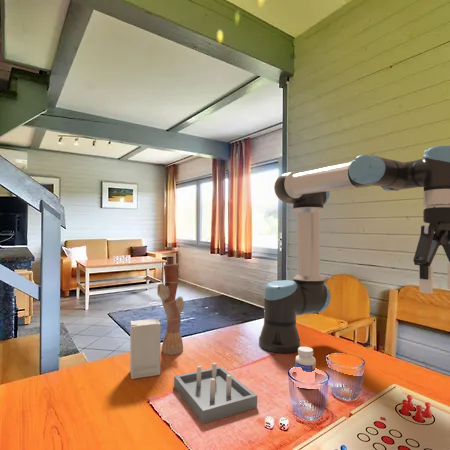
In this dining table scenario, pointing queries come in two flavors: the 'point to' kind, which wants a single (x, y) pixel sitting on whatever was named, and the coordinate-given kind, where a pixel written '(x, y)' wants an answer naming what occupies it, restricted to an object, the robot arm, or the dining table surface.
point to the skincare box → (145, 348)
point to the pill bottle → (305, 359)
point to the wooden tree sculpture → (171, 310)
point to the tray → (214, 393)
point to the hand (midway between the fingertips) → (440, 291)
